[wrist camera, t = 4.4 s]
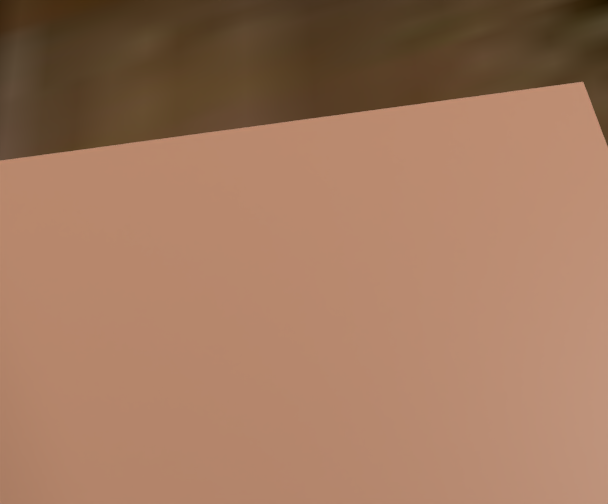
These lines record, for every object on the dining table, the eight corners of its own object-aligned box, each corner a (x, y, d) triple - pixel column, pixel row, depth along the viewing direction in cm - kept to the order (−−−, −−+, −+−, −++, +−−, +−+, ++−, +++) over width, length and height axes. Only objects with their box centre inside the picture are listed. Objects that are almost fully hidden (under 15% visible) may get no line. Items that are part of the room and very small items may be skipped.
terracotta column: (376, 510, 15) (906, 938, 3) (208, 546, 14) (-164, 1300, 2) (342, 343, 16) (583, 81, 4) (186, 371, 16) (-127, 177, 3)
